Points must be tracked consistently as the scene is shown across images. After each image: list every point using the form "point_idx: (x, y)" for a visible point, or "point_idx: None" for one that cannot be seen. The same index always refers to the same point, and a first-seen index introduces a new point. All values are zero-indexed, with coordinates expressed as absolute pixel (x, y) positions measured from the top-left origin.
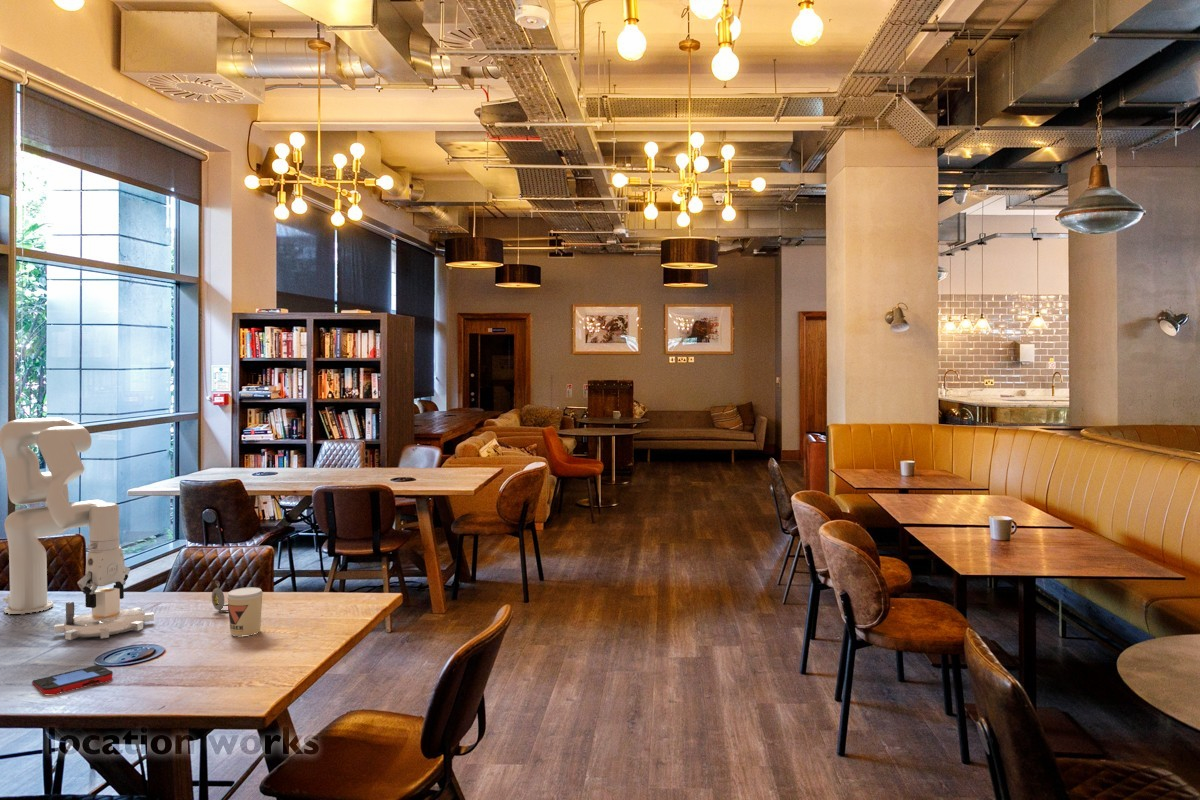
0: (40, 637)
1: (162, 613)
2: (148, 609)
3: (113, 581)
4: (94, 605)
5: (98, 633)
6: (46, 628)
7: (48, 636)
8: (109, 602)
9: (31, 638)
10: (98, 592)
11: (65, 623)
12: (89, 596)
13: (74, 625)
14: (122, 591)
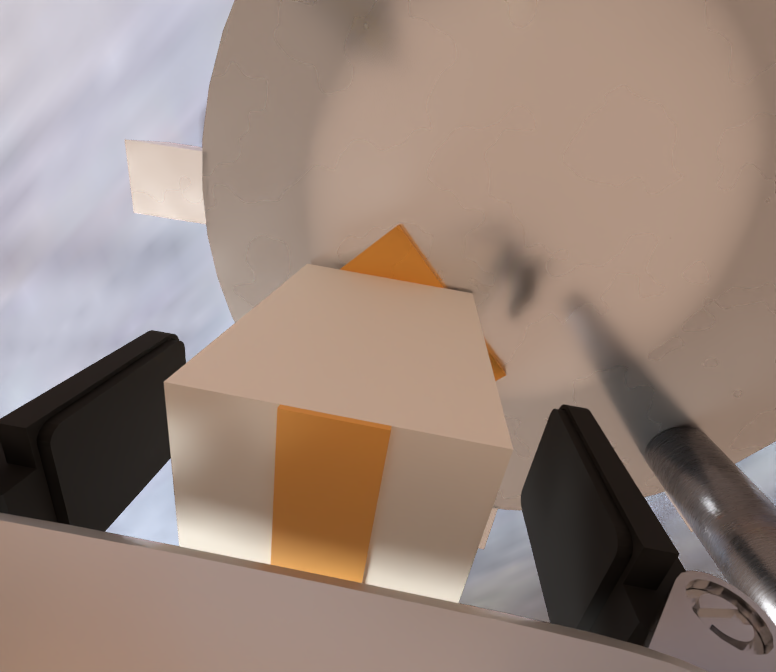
0: (681, 522)
1: (23, 35)
2: (11, 249)
3: (216, 592)
4: (595, 419)
5: None
6: (499, 575)
7: (665, 495)
8: (420, 336)
9: (694, 552)
10: (470, 563)
11: (659, 487)
12: (676, 575)
13: (741, 393)
14: (105, 374)
